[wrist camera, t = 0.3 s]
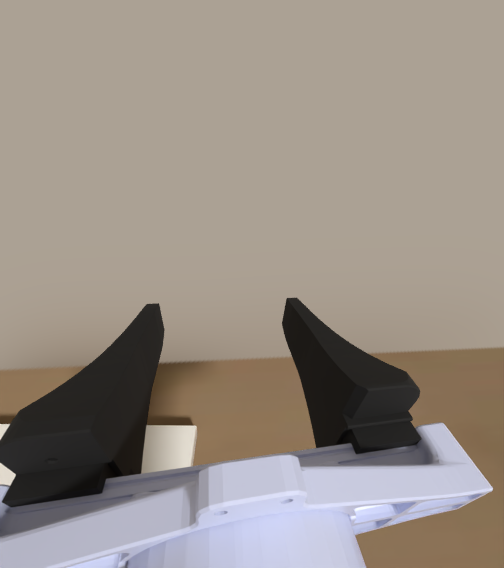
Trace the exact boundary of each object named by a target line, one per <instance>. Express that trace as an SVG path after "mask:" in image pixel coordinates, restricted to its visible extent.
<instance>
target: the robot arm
mask: <svg viewBox="0 0 504 568" xmlns="http://www.w3.org/2000/svg"><path fill="white" fill-rule="evenodd" d="M282 326H283V330H284V334H285V338H286V341H287V344H288V347H289V349H290V352H291V355H292V357H293V360H294V362H295V365H296V368H297V370H298V373H299V376H300V379H301V383H302V387H303V390H304V394H305V398H306V402H307V406H308V410H309V415H310V419H311V424H312V429H313V433H314V438H315V444H316V448H314V449H307V450H300V451H294V452H287V453H280V454H272V455H265V456H258V457H251V458H244V459H237V460H231V461H224V462H218V463H211V464H205V465H198V466H191V467H184V468H177V469H170V470H164V471H157V472H150V473H143V474H141V471H142V460H143V450H144V442H145V433H146V425H147V418H148V410H149V404H150V397H151V391H152V386H153V382H154V378H155V374H156V370H157V367H158V363H159V359H160V355H161V351H162V346H163V338H164V326H163V321H162V316H161V311H160V306H159V304H147V305H146V306H145V307H144V308H143V309H142V311H141V312H140V313H139V314H138V316H137V317H136V318H135V319H134V320H133V322H132V323H131V324H130V325H129V326H128V327H127V329H126V330H125V331H124V332H123V333H122V334H121V335H120V336H119V337H118V338H117V339H116V340H115V341H114V343H113V344H112V345H111V346H110V347H108V348H107V349H106V350H105V351H104V352H103V353H102V354H101V355H100V356H99V357H98V358H96V359H95V360H94V361H93V362H92V363H90V364H89V365H88V366H87V367H85V368H84V369H83V370H81V371H80V372H79V373H78V374H76V375H75V376H74V377H72V378H71V379H69V380H68V381H66V382H65V383H64V384H62V385H61V386H59V387H58V388H56V389H55V390H53V391H51V392H50V393H48V394H47V395H45V396H43V397H42V398H40V399H38V400H37V401H35V402H33V403H32V404H30V405H28V406H27V407H25V408H23V409H22V410H20V411H19V412H18V414H17V415H16V416H15V418H14V419H13V421H12V422H11V424H10V425H9V427H8V428H7V430H6V432H5V433H4V435H3V436H2V438H1V440H0V463H1V464H3V465H4V466H5V467H7V468H8V469H9V470H11V471H12V472H13V473H15V474H16V476H15V478H14V480H13V481H12V483H11V485H4V484H0V568H366V566H365V563H364V560H363V557H362V554H361V552H360V549H359V546H358V543H357V540H356V537H355V535H357V534H360V533H364V532H368V531H371V530H375V529H379V528H383V527H386V526H390V525H394V524H397V523H401V522H405V521H409V520H413V519H417V518H420V517H425V516H429V515H433V514H437V513H442V512H446V511H451V510H455V509H458V508H460V507H462V506H464V505H466V504H468V503H470V502H472V501H474V500H476V499H477V498H479V497H481V496H483V495H485V494H487V493H489V492H491V491H492V490H493V488H492V486H491V485H490V484H489V482H488V481H487V480H486V479H485V477H484V476H483V475H482V473H481V472H480V471H479V469H478V468H477V467H476V465H475V464H474V463H473V461H472V460H471V459H470V458H469V456H468V455H467V454H466V452H465V451H464V450H463V448H462V447H461V446H460V444H459V443H458V442H457V440H456V439H455V438H454V436H453V435H452V434H451V433H450V431H449V430H448V429H447V427H446V426H445V425H444V423H441V422H439V423H432V424H425V425H420V426H418V427H416V428H414V426H413V425H412V423H411V422H410V421H412V420H413V418H412V416H411V415H410V413H409V412H408V410H409V409H410V408H411V407H412V406H413V404H414V403H415V402H416V401H417V399H418V398H419V395H420V390H419V388H418V386H417V385H416V384H415V383H414V381H413V380H412V379H411V377H410V376H409V375H408V374H407V372H405V371H403V370H401V369H398V368H396V367H394V366H392V365H389V364H387V363H385V362H383V361H381V360H379V359H377V358H375V357H373V356H371V355H369V354H367V353H366V352H364V351H362V350H361V349H359V348H357V347H355V346H354V345H352V344H350V343H349V342H348V341H346V340H345V339H343V338H342V337H340V336H339V335H338V334H336V333H335V332H334V331H333V330H331V329H330V328H329V327H328V326H326V325H325V324H324V323H323V322H322V321H320V320H319V319H318V318H317V317H316V316H315V315H314V314H313V313H312V312H311V311H310V310H309V309H308V308H307V307H306V306H305V305H304V304H303V303H302V302H301V301H299V299H297V298H287V300H286V305H285V311H284V316H283V321H282Z"/></svg>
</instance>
